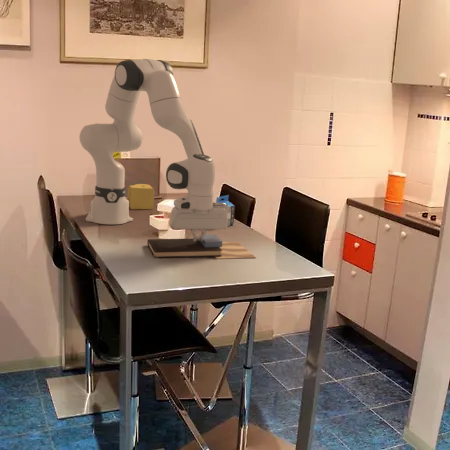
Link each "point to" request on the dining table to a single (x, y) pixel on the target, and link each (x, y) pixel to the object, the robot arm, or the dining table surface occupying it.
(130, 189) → the cheese
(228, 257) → the mat
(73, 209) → the dining table surface
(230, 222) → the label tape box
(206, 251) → the hardcover book
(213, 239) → the blue-grey flat block
